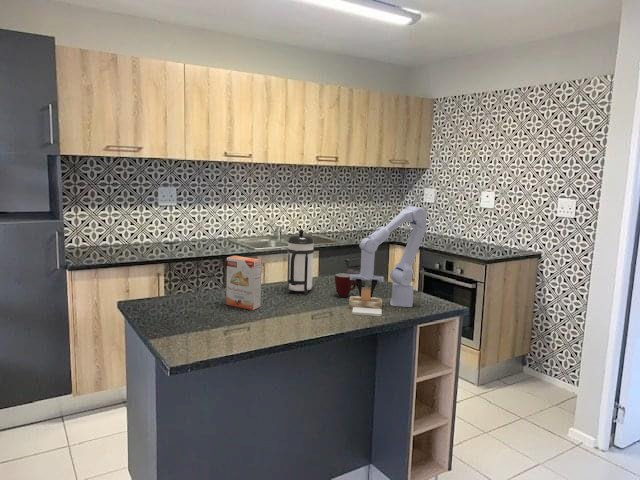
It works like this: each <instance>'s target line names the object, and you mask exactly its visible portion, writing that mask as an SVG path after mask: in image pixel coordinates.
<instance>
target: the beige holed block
mask: <svg viewBox="0 0 640 480" xmlns="http://www.w3.org/2000/svg"><path fill="white" fill-rule="evenodd" d="M353 307H358V308H372V309H382V307H383V298H382V297H373V296H372V298H371V297H370V301H361V297H360V295H359V296H358V295H350V296H349V299H348V308H349V309H353Z"/></svg>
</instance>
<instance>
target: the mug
mask: <svg viewBox="0 0 640 480" xmlns="http://www.w3.org/2000/svg"><path fill="white" fill-rule="evenodd" d="M334 277H335V278H334V283H335V290H336V293H337V295H338V297H340V298H347V297H348V296H349V294H350V292H351V291H353V290H354V289H356V288H357V285H356V282H355V281H354V280H350V274H346V272H345V273H344V272H343V273H342V272H341V273H336V274H335V275H334ZM352 282H353V283H354V284H353V283H352Z"/></svg>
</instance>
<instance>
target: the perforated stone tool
mask: <svg viewBox="0 0 640 480" xmlns="http://www.w3.org/2000/svg"><path fill="white" fill-rule="evenodd" d="M345 274H352V275H358V274H360V271H358V270H355V269H353V268H348V269H347V270H346V272H345ZM352 280H353V279H352ZM354 281H355V282H356V280H354ZM352 285H354V283H353V282H352ZM365 285H366V280H362V285H361V287H364V286H365ZM356 286H357V284H356Z"/></svg>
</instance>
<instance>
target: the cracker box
mask: <svg viewBox="0 0 640 480" xmlns="http://www.w3.org/2000/svg"><path fill="white" fill-rule="evenodd" d="M261 303H262V259H259V258H253V257H246V256H240V255H231V256H228V257H226V305H227V306H231V307H236V308H239V309H240V308H241V309H245V310H250V311H255V310H257V309H259V308H261V307H262V305H261Z"/></svg>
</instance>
